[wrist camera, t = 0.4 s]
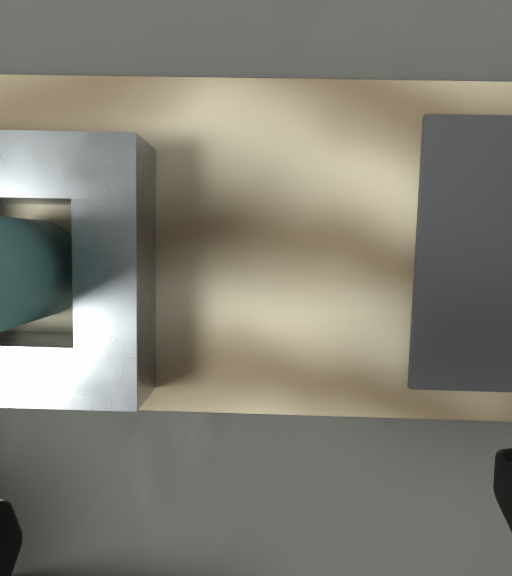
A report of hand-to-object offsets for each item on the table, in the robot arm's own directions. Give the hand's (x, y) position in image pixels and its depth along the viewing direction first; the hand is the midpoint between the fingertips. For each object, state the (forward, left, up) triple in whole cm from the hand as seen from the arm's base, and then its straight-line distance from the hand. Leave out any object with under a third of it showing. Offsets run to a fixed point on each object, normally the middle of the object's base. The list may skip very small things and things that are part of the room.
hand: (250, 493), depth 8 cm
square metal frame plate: (+3, +10, -12) cm, 16 cm away
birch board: (+4, -1, -14) cm, 14 cm away
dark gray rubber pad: (+4, -13, -12) cm, 18 cm away
